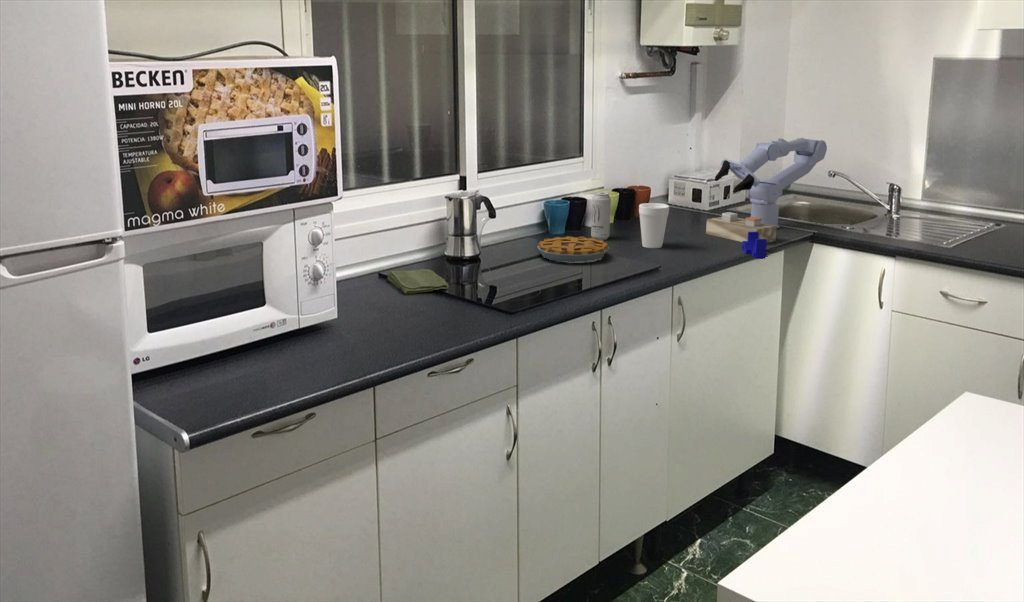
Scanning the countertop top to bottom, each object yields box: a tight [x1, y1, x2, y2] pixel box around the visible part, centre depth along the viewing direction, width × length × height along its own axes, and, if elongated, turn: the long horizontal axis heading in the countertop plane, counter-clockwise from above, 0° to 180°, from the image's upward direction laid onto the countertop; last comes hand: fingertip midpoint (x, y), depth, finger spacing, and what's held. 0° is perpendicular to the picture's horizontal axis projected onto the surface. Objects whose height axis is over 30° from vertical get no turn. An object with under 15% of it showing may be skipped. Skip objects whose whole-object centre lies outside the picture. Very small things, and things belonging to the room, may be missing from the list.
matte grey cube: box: [721, 211, 738, 222], centre depth 330 cm, size 4×4×5 cm
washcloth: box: [387, 268, 449, 295], centre depth 266 cm, size 13×18×3 cm
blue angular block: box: [741, 232, 767, 260], centre depth 304 cm, size 12×4×6 cm, turn 179°
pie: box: [536, 235, 610, 262], centre depth 299 cm, size 22×22×5 cm
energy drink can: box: [590, 191, 611, 241], centre depth 322 cm, size 6×6×15 cm
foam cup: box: [638, 202, 670, 249], centre depth 312 cm, size 10×9×13 cm
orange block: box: [745, 216, 762, 227], centre depth 322 cm, size 4×4×5 cm
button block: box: [705, 216, 777, 243], centre depth 327 cm, size 10×21×5 cm, turn 37°
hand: (725, 184), depth 326 cm, fingers open, 7 cm apart
